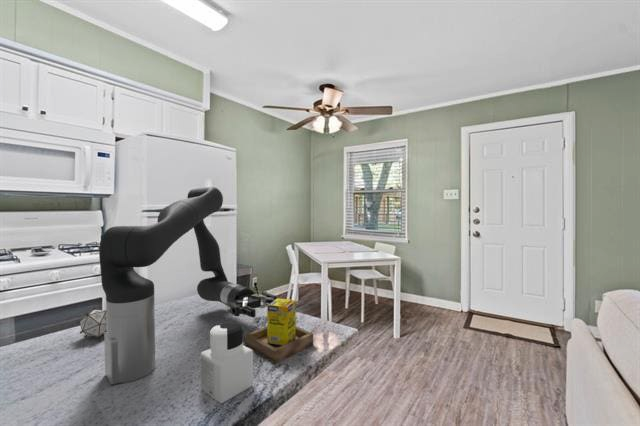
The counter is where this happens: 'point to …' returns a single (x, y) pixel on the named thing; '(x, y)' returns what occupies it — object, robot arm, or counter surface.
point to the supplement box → (281, 322)
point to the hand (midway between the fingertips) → (267, 309)
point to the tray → (276, 354)
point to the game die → (94, 323)
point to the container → (226, 363)
